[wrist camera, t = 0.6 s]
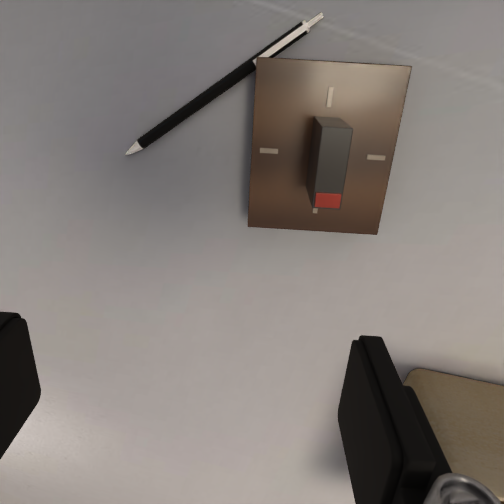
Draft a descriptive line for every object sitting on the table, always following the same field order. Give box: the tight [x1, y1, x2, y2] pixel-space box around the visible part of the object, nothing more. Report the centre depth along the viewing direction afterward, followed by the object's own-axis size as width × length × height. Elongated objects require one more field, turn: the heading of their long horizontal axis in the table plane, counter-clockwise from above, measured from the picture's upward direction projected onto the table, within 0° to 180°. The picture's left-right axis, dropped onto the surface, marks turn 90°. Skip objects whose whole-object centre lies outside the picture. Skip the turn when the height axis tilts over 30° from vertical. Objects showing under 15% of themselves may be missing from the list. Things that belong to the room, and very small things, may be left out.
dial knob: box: [306, 116, 353, 210], centre depth 29 cm, size 6×2×5 cm, turn 177°
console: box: [248, 57, 412, 235], centre depth 33 cm, size 13×11×3 cm
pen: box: [125, 13, 323, 155], centre depth 32 cm, size 1×19×1 cm, turn 123°
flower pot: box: [403, 369, 504, 504], centre depth 39 cm, size 19×19×17 cm
